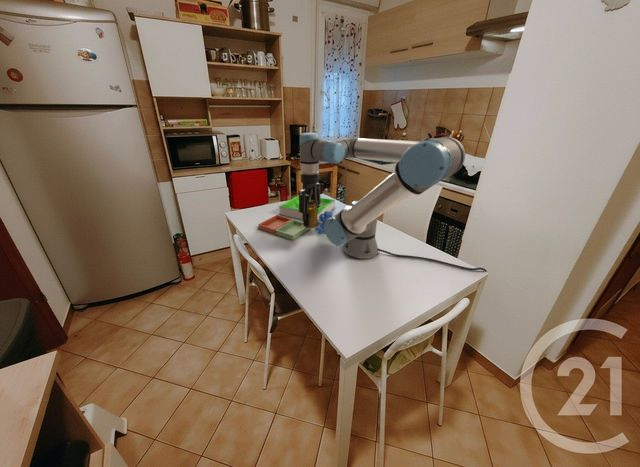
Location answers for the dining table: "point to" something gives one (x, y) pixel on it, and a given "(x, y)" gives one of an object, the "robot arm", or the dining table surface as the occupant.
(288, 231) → the green tray
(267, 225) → the terracotta tray
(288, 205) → the tray
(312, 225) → the condiment
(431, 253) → the dining table surface
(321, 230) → the grapes
